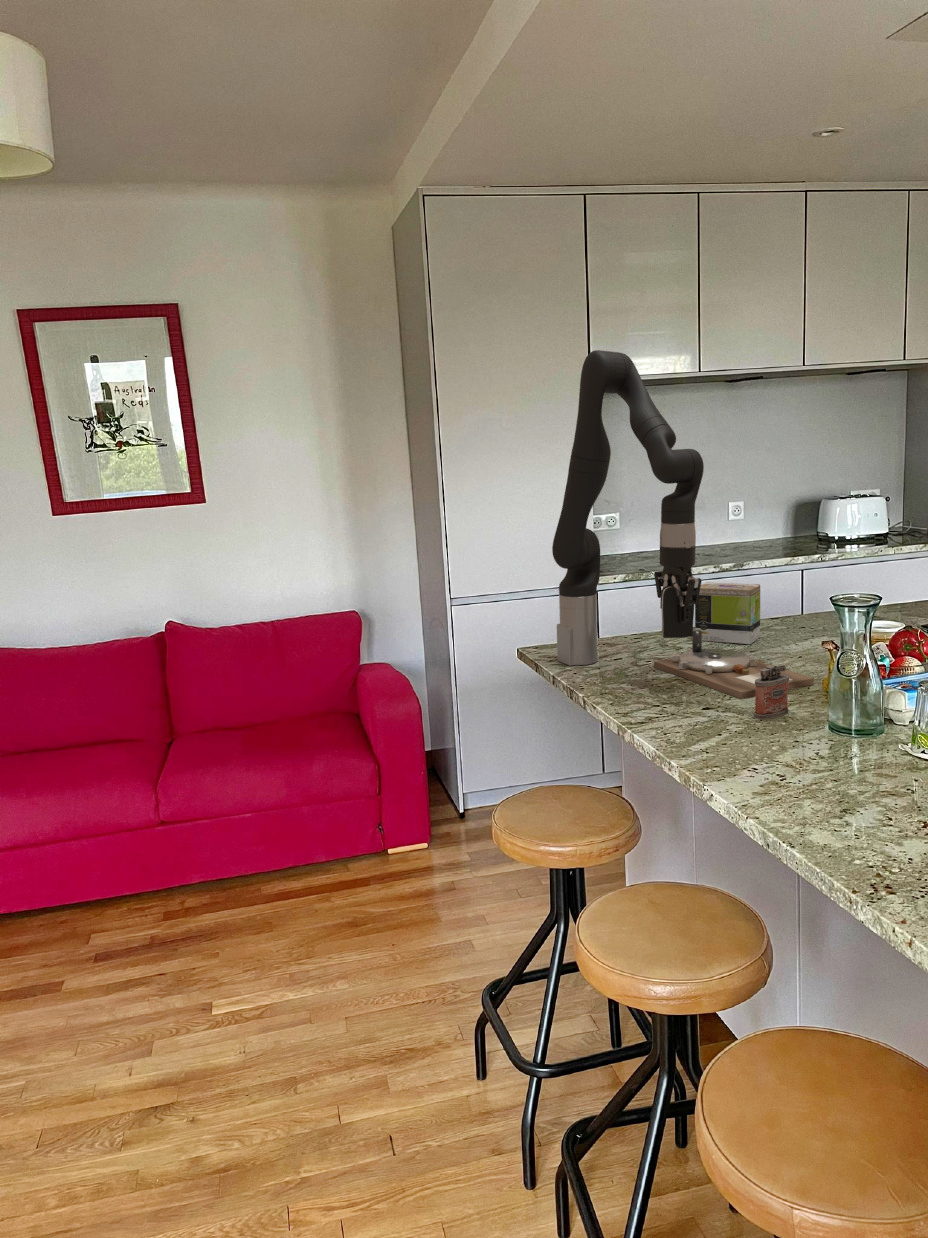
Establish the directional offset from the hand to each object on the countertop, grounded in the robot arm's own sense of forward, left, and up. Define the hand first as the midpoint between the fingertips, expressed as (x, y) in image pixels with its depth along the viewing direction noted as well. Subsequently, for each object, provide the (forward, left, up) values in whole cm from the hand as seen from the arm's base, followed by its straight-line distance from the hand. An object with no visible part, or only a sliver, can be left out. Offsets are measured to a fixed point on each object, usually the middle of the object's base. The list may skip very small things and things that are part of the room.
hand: (676, 620), depth 198 cm
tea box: (+39, +30, -16) cm, 52 cm away
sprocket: (+16, +7, -14) cm, 22 cm away
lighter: (+4, -25, -16) cm, 30 cm away
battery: (0, 0, -4) cm, 4 cm away
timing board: (+16, +1, -15) cm, 22 cm away
